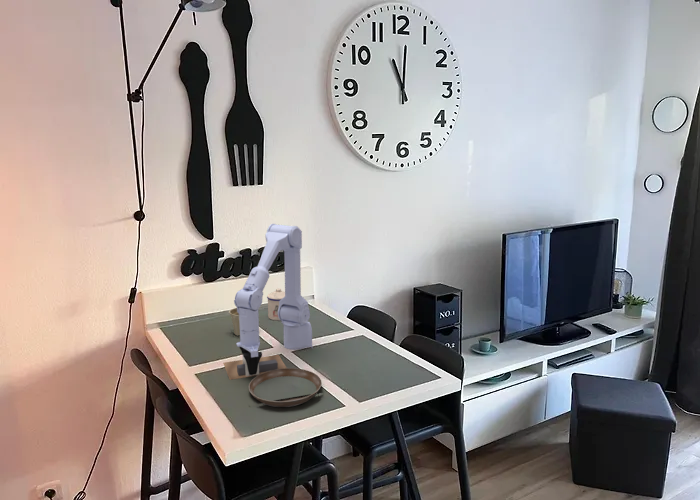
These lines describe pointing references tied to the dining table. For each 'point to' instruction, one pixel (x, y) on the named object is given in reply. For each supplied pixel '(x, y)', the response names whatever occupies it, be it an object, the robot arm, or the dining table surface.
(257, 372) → the pale grey block
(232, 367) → the board
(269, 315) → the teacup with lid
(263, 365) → the bar
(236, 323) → the flower pot
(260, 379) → the plant saucer
